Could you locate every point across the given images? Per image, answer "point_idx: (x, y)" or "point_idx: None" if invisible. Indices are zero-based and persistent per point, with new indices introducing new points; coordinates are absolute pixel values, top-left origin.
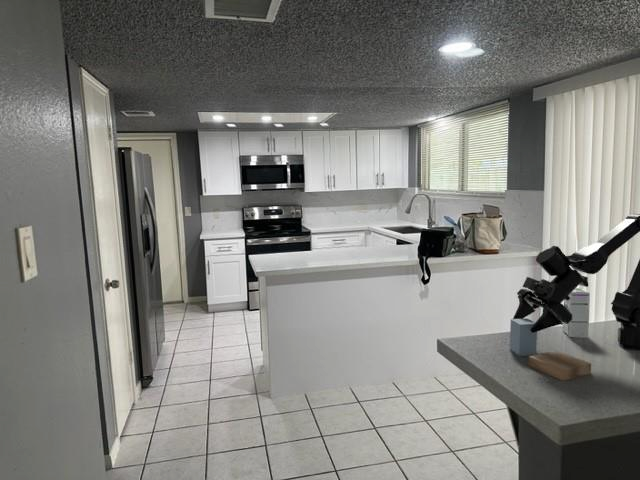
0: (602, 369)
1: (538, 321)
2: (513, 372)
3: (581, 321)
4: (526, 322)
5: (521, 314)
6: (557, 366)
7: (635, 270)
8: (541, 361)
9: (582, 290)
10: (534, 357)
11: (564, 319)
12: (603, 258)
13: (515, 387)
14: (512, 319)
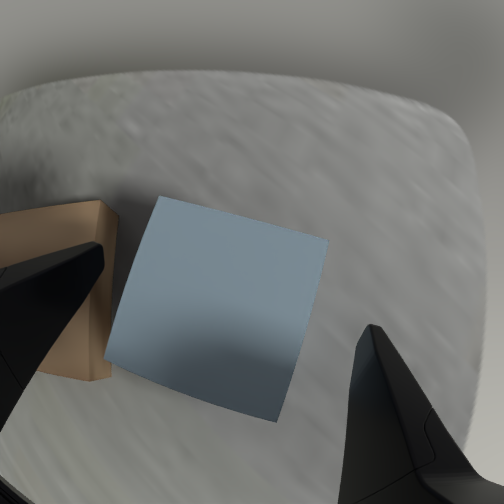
0: (11, 417)
1: (17, 269)
2: (116, 132)
3: None
4: (173, 300)
5: (365, 423)
6: (10, 225)
7: None
8: (51, 208)
9: None
10: (82, 212)
11: None
12: None
13: (71, 93)
14: (313, 247)
